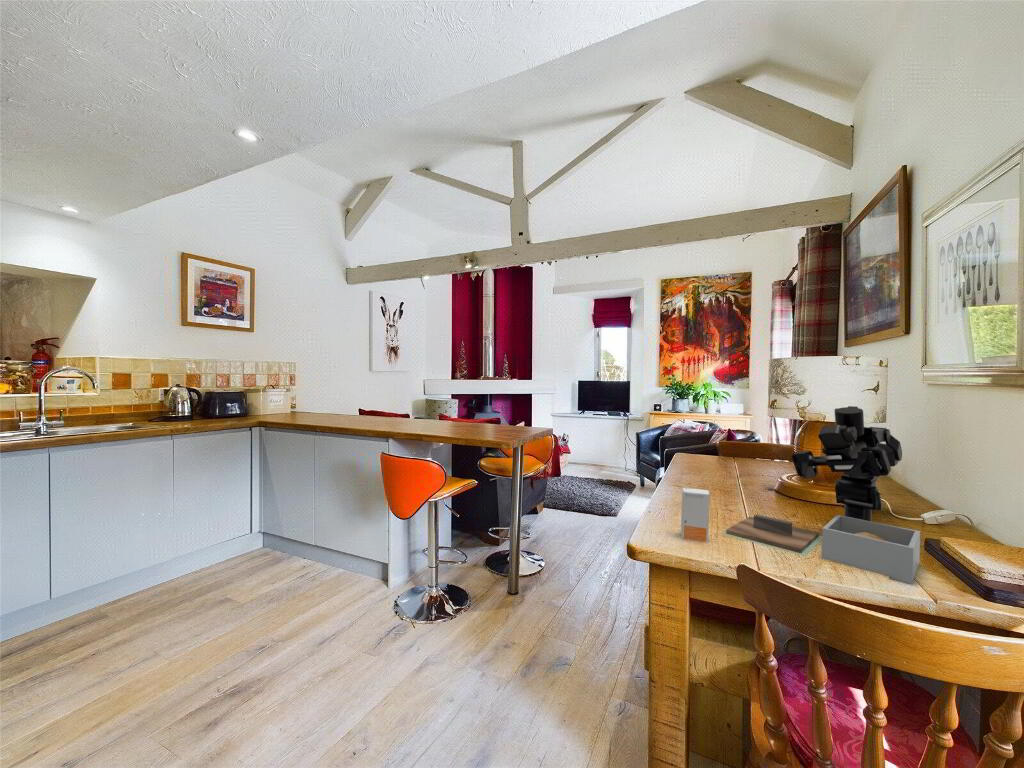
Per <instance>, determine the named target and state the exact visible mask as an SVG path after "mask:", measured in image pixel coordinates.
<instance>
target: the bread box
mask: <svg viewBox="0 0 1024 768" xmlns="http://www.w3.org/2000/svg"><path fill="white" fill-rule="evenodd" d="M861 532H866V533H870V534H873V535H876V536H878V537H881V538H883V539H884V540H886V541H883V540H878V539H874V538H869V537H865V536H860V535H856V533H861ZM821 536H822V540H821V559H823V560H827V561H831V562H835V563H839V564H843V565H847V566H850V567H854V568H858V569H863V570H866V571H870V572H874V573H876V574H881V575H884V576H888V579H890V578H891V579H890V580H894V581H898V582H902V583H906V584H910V585H913V584H914V580H915V577H916V575H917V571H918V569H919V566H920V559H921V558H920V557H921V530H917V529H911V528H906V527H901V526H897V525H891V524H886V523H882V522H875V521H866V520H861V519H856V518H851V517H846V516H844V515H841V514H836V515H835V516H834V517H833V518H831V520H830V521H829V522H828V523H826V524H825V525H824V526H823V527H822V530H821ZM887 541H888V542H887Z"/></svg>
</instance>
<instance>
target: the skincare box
mask: <svg viewBox="0 0 1024 768" xmlns="http://www.w3.org/2000/svg"><path fill="white" fill-rule="evenodd" d="M681 489H682V491H681V493H682V495H681V517H680V519H681V521H680V522H681V523H680V538H681V540H689V541H695V542H702V543H703V542H704V543H708V541H709V521H710V520H709V517H710V516H709V515H710V491H709V490H707V489H699V488H686V487H682V488H681Z"/></svg>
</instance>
